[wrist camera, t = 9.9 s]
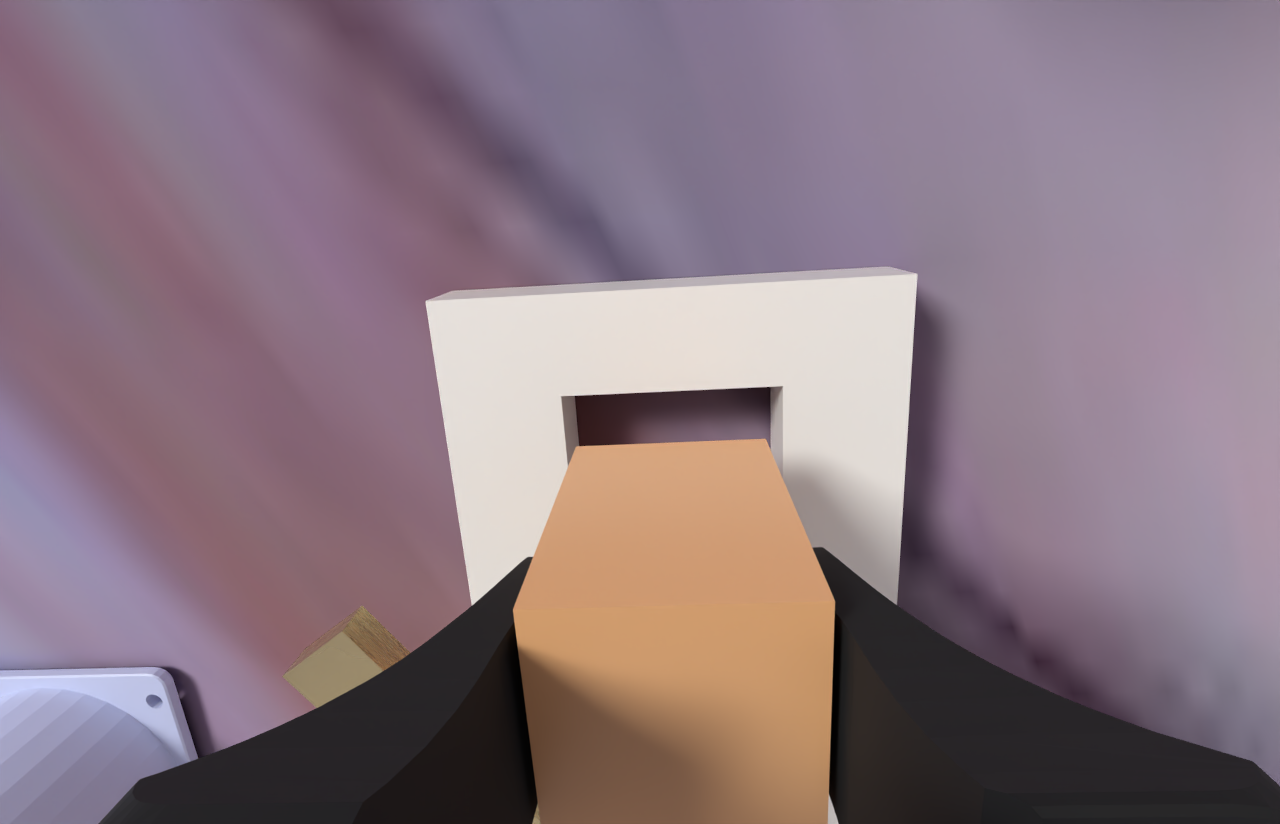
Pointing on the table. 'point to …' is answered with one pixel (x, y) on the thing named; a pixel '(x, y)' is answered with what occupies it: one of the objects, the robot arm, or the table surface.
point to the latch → (347, 660)
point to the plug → (677, 642)
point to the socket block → (681, 361)
